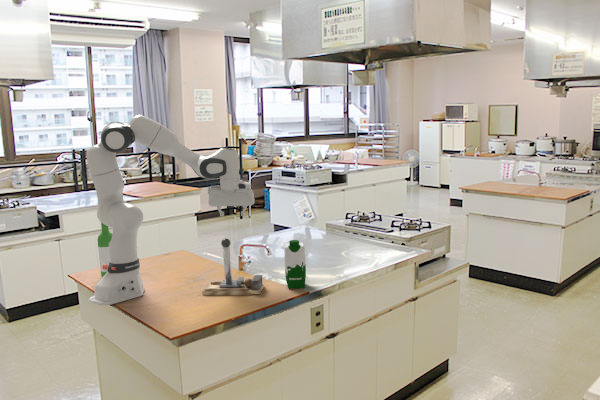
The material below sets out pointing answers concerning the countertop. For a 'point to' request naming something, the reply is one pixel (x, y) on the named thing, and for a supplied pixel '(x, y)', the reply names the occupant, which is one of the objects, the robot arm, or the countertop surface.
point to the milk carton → (295, 264)
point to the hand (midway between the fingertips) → (232, 215)
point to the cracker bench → (248, 288)
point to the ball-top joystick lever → (229, 268)
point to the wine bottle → (104, 247)
